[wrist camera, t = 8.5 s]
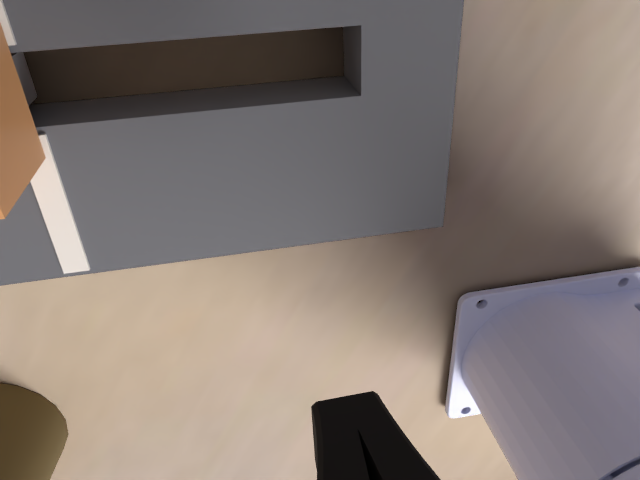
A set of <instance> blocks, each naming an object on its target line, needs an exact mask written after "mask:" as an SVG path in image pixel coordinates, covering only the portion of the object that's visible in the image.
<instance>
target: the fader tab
mask: <svg viewBox="0 0 640 480" xmlns="http://www.w3.org/2000/svg"><path fill="white" fill-rule="evenodd" d="M36 98H37V94H36V91H35V88H34V84H33V81H32V78H31V75H30V72H29V69H28V66H27V63H26V60H25V57H24V54H23V52H17V53H10V50H9V47H8V44H7V41H6V38H5V35H4V32H3V29H2V26H1V23H0V219H5V218H6V217H7V215H8V214H9V212H10V211H11V209H12V208H13V206H14V205H15V203H16V202H17V200H18V199H19V197H20V196H21V194H22V193H23V191H24V190H25V188H26V187H27V185H28V184H29V182H30V181H31V179H32V178H33V176H34V175H35V173H36V172H37V170H38V169H39V167H40V166H41V164H42V163H43V162H44V160H45V159H46V157H45V154H44V151H43V148H42V145H41V142H40V139H39V136H38V133H37V130H36V127H35V124H34V121H33V118H32V115H31V112H30V109H29V105H30V104H31V103H32V102H33V101H34V100H35V99H36Z"/></svg>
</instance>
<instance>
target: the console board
mask: <svg viewBox="0 0 640 480" xmlns="http://www.w3.org/2000/svg"><path fill="white" fill-rule="evenodd" d="M463 5H464V0H0V23H1V26H2V29H3V32H4V35H5V38H6V41H7V44H8V47H9V50H10V53H17V52H29V51H42V50H55V49H67V48H80V47H92V46H105V45H118V44H130V43H143V42H156V41H168V40H181V39H194V38H206V37H219V36H232V35H244V34H257V33H270V32H282V31H295V30H308V29H320V28H333V27H343V46H344V76H339V77H328V78H317V79H306V80H295V81H284V82H273V83H262V84H251V85H240V86H229V87H218V88H207V89H197V90H186V91H175V92H164V93H153V94H142V95H131V96H120V97H109V98H98V99H87V100H76V101H66V102H55V103H44V104H33V105H29V109H30V112H31V115H32V118H33V121H34V124H35V127H36V130H37V133H38V136H39V139H40V142H41V145H42V148H43V151H44V154H45V157H46V159H45V160H44V162H43V163H42V164H41V166H40V167H39V169H38V170H37V172H36V173H35V175H34V176H33V178H32V179H31V181H30V182H29V184H28V185H27V187H26V188H25V190H24V191H23V193H22V194H21V196H20V197H19V199H18V200H17V202H16V203H15V205H14V206H13V208H12V209H11V211H10V212H9V214H8V215H7V217H6V218H5V219H0V286H1V285H8V284H16V283H23V282H31V281H38V280H46V279H53V278H61V277H68V276H76V275H83V274H91V273H98V272H106V271H113V270H121V269H128V268H136V267H143V266H151V265H158V264H166V263H173V262H181V261H188V260H196V259H203V258H211V257H218V256H226V255H233V254H241V253H248V252H256V251H263V250H271V249H278V248H286V247H294V246H301V245H309V244H316V243H324V242H331V241H339V240H346V239H354V238H361V237H369V236H376V235H384V234H391V233H399V232H406V231H414V230H421V229H429V228H436V227H443V222H444V211H445V200H446V189H447V179H448V168H449V157H450V146H451V135H452V124H453V113H454V103H455V92H456V81H457V70H458V59H459V48H460V37H461V26H462V16H463Z"/></svg>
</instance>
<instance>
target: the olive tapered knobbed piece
mask: <svg viewBox="0 0 640 480" xmlns="http://www.w3.org/2000/svg"><path fill="white" fill-rule="evenodd" d="M67 437H68V430H67V424H66V420H65V418H64V417H63V415H62V414H61V413H60V411H59V410H58V408H57V407H56V406H55V405H54V404H52V403H51V402H50V401H48V400H47V399H45V398H44V397H43V396H41V395H40V394H37V393H35V392H32V391H30V390H27V389H25V388H22V387H19V386H16V385H9V384H3V383H0V480H50V478H51V476H52V473H53V471H54V469H55V467H56V464H57V462H58V460H59V458H60V455H61V453H62V451H63V449H64V446H65V443H66V440H67Z"/></svg>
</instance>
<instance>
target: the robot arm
mask: <svg viewBox="0 0 640 480" xmlns="http://www.w3.org/2000/svg"><path fill="white" fill-rule="evenodd" d="M480 300H483V301H481V302H480V303H478V302H479V301H480ZM477 303H478V304H477ZM311 408H312V422H313V436H314V450H315V462H316V468H317V480H440V478H439V477H438V476H437V475H436V474H435V472H434V471H433V470H432V469H431V467H430V466H429V465H428V464H427V463H426V461H425V460H424V459H423V458H422V456H421V455H420V454H419V452H418V451H417V450H416V449H415V447H414V446H413V445H412V443H411V442H410V441H409V439H408V438H407V437H406V435H405V434H404V433H403V431H402V430H401V428H400V427H399V426H398V424H397V423H396V421H395V420H394V419H393V417H392V416H391V414H390V413H389V411H388V410H387V408H386V407H385V405H384V404H383V402H382V400H381V399H380V397H379V395H378V394H377V393H375V392H373V391H371V392H366V393H360V394H355V395H350V396H344V397H339V398H334V399H328V400H323V401H318V402H316V403H315V404H314V405H312V406H311ZM445 411H446V413H447V415H448V416H449V417H450V418H460V417H465V416H471V415H476V414H482V416H483V417H484V419H485V421H486V423H487V425H488V426H489V428H490V430H491V432H492V434H493V435H494V437H495V439H496V441H497V443H498V444H499V446H500V448H501V450H502V452H503V453H504V455H505V457H506V459H507V461H508V462H509V464H510V466H511V468H512V470H513V471H514V473H515V475H516V477H517V479H518V480H640V267H634V268H627V269H621V270H614V271H607V272H601V273H594V274H588V275H581V276H574V277H568V278H561V279H555V280H548V281H541V282H535V283H528V284H522V285H515V286H508V287H502V288H495V289H489V290H482V291H475V292H469V293H466V294H464V295H462V296H461V297H460V299H459V300H458V304H457V313H456V321H455V329H454V338H453V346H452V355H451V363H450V371H449V380H448V388H447V397H446V405H445Z"/></svg>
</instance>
